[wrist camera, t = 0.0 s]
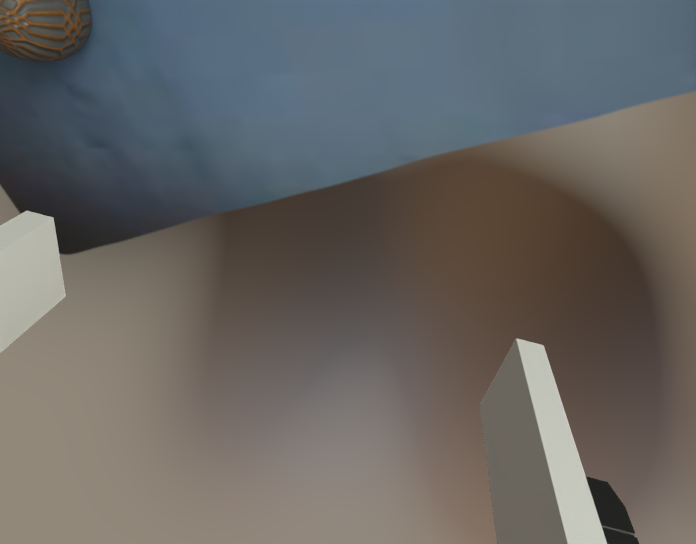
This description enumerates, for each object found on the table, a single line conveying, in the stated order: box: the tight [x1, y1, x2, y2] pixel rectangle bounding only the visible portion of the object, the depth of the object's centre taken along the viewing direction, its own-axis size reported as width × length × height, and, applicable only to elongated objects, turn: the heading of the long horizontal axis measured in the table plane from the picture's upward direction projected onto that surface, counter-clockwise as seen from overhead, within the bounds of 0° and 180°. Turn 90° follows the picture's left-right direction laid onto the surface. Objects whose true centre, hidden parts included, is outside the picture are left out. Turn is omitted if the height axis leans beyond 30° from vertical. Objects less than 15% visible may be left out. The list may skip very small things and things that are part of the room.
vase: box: [0, 0, 92, 62], centre depth 33 cm, size 7×7×9 cm
